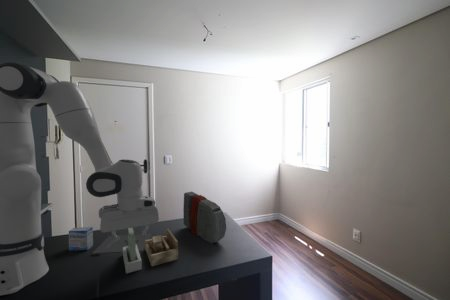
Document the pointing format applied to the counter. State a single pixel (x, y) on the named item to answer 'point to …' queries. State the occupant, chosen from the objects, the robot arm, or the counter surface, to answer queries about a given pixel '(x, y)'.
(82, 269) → the counter surface
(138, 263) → the holder
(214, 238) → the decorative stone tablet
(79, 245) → the medicine box
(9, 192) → the robot arm
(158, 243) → the offcut pine
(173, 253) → the rack
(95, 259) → the counter surface
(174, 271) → the counter surface
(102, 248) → the play button award
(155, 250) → the offcut walnut
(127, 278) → the counter surface
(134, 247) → the block
